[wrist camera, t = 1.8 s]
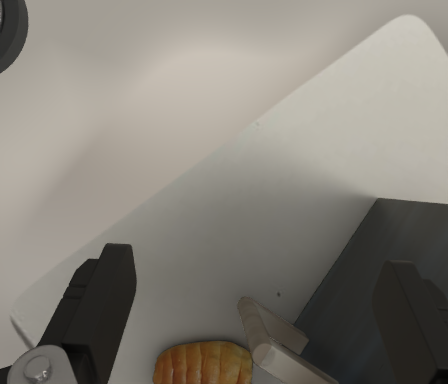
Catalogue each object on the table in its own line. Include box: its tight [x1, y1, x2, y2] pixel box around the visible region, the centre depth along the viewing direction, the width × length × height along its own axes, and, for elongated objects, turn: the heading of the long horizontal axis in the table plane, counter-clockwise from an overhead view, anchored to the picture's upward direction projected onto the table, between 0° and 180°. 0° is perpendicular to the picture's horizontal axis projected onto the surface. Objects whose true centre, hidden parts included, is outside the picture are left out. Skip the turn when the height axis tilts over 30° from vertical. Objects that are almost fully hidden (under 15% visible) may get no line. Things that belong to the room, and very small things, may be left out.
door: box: [237, 198, 448, 384], centre depth 30 cm, size 8×18×16 cm, turn 146°
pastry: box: [153, 341, 253, 384], centre depth 36 cm, size 9×7×4 cm
